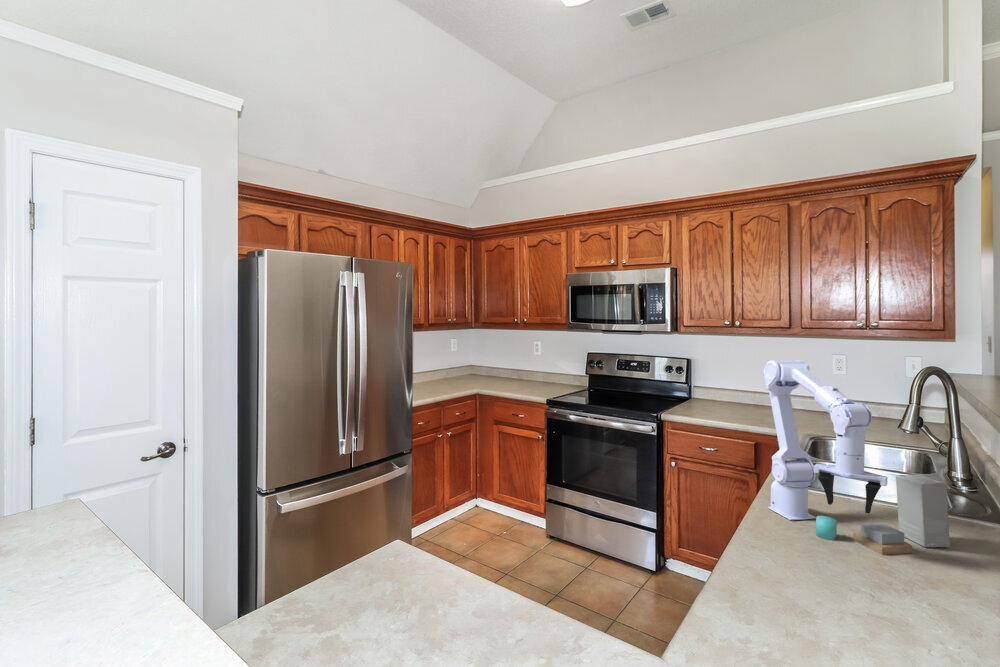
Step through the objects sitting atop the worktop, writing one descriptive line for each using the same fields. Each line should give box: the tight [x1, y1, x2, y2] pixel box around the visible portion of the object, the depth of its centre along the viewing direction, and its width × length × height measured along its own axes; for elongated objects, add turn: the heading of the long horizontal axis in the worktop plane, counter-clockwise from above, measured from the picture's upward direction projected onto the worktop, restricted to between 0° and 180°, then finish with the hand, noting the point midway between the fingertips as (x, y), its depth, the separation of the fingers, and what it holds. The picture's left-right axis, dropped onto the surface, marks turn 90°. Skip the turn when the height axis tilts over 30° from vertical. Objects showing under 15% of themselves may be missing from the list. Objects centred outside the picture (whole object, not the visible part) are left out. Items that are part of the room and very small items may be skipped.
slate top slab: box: [860, 522, 905, 545], centre depth 121 cm, size 6×6×2 cm
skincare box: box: [895, 474, 951, 548], centre depth 124 cm, size 8×7×16 cm
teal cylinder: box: [815, 515, 838, 541], centre depth 127 cm, size 4×4×4 cm
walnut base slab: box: [852, 531, 913, 556], centre depth 121 cm, size 8×8×2 cm
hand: (848, 507), depth 121 cm, fingers open, 7 cm apart
